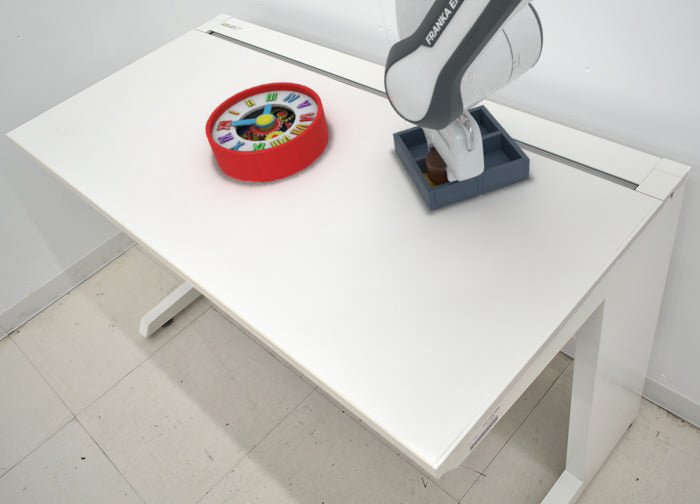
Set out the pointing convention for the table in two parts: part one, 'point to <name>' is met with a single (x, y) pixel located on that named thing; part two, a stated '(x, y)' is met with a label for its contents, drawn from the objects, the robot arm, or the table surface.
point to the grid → (499, 170)
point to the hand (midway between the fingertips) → (443, 164)
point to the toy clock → (268, 131)
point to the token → (436, 168)
